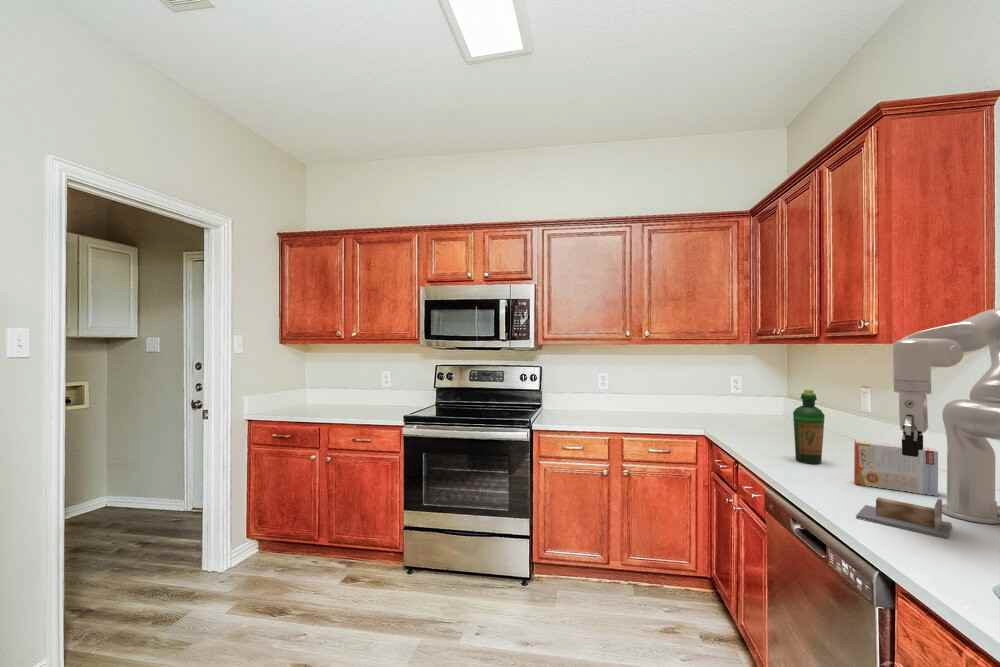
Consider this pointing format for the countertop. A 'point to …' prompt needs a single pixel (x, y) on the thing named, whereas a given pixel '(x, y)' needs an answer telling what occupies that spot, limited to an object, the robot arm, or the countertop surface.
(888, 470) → the cracker box
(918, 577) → the countertop surface
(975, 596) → the countertop surface
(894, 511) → the tan boxy piece
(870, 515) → the mat
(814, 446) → the bottle
